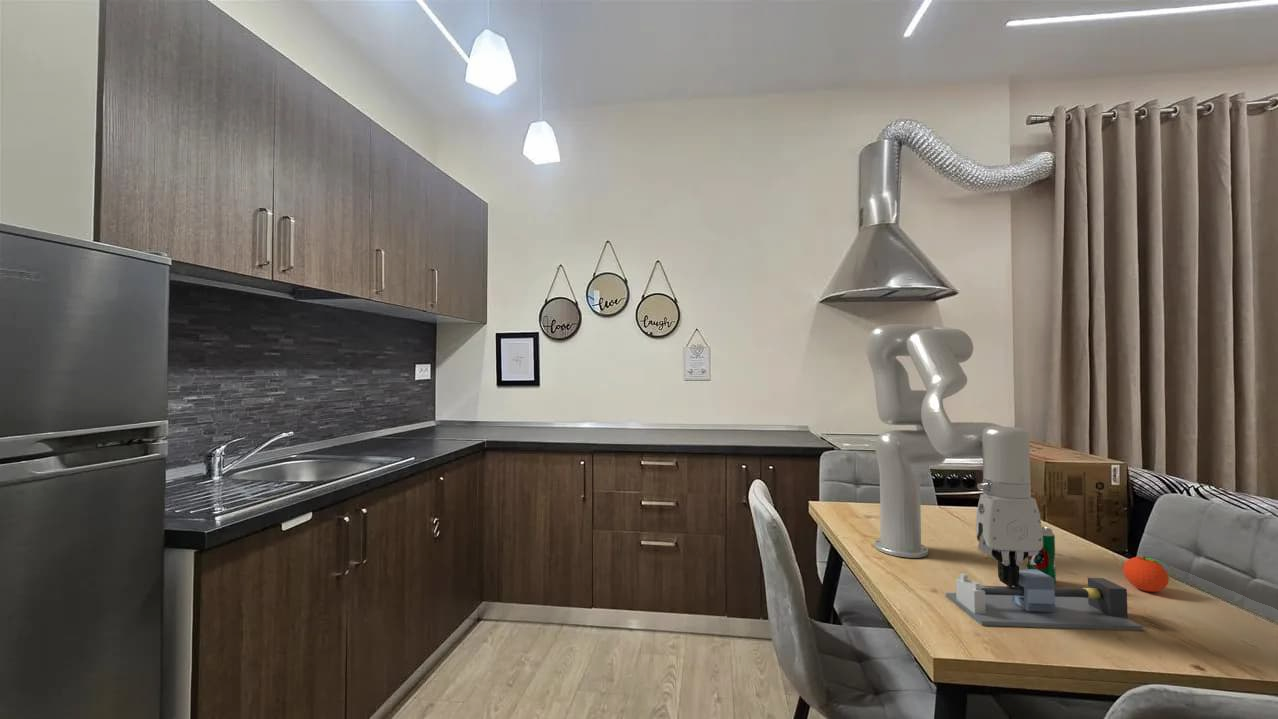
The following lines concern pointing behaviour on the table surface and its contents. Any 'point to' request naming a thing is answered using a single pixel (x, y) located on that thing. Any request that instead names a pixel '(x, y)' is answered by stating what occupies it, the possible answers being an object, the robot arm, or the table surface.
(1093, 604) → the linear slide rail
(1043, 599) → the sleeve
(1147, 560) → the clementine
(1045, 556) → the soda can
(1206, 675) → the table surface
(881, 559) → the table surface
